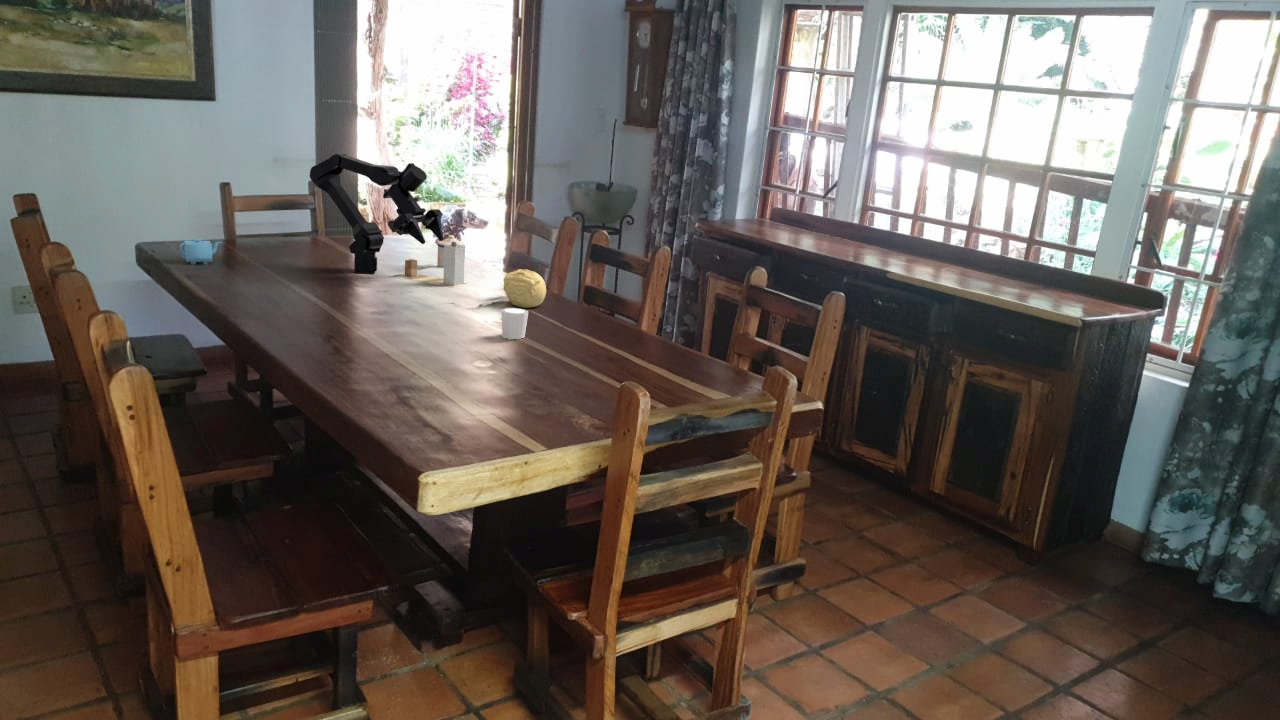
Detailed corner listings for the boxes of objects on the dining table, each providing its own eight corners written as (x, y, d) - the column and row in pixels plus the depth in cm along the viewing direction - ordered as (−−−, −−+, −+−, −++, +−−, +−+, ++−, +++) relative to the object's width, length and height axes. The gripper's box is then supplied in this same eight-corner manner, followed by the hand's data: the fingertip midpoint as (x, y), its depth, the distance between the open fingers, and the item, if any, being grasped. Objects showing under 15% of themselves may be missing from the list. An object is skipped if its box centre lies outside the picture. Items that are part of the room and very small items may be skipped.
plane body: (395, 281, 288) (396, 260, 286) (412, 277, 296) (412, 257, 294) (452, 292, 280) (453, 271, 279) (468, 288, 288) (468, 267, 286)
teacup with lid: (468, 272, 312) (470, 237, 309) (443, 273, 307) (445, 238, 303) (452, 265, 321) (453, 231, 318) (428, 266, 316) (429, 232, 312)
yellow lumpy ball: (497, 305, 270) (498, 268, 267) (519, 298, 281) (521, 263, 278) (530, 312, 266) (532, 275, 263) (552, 305, 276) (554, 269, 273)
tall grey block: (443, 284, 283) (444, 242, 280) (452, 282, 288) (454, 240, 284) (454, 286, 282) (455, 244, 278) (463, 284, 286) (465, 242, 283)
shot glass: (505, 341, 234) (506, 314, 232) (496, 333, 240) (497, 307, 238) (530, 340, 237) (532, 313, 235) (521, 332, 243) (522, 306, 241)
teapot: (221, 260, 294) (220, 237, 292) (224, 264, 290) (223, 240, 287) (179, 261, 288) (178, 237, 286) (181, 265, 283) (180, 240, 281)
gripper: (408, 214, 297) (435, 254, 296) (369, 219, 280) (398, 261, 279) (429, 193, 292) (457, 232, 291) (391, 196, 275) (420, 238, 274)
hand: (433, 241), depth 284 cm, fingers open, 9 cm apart
